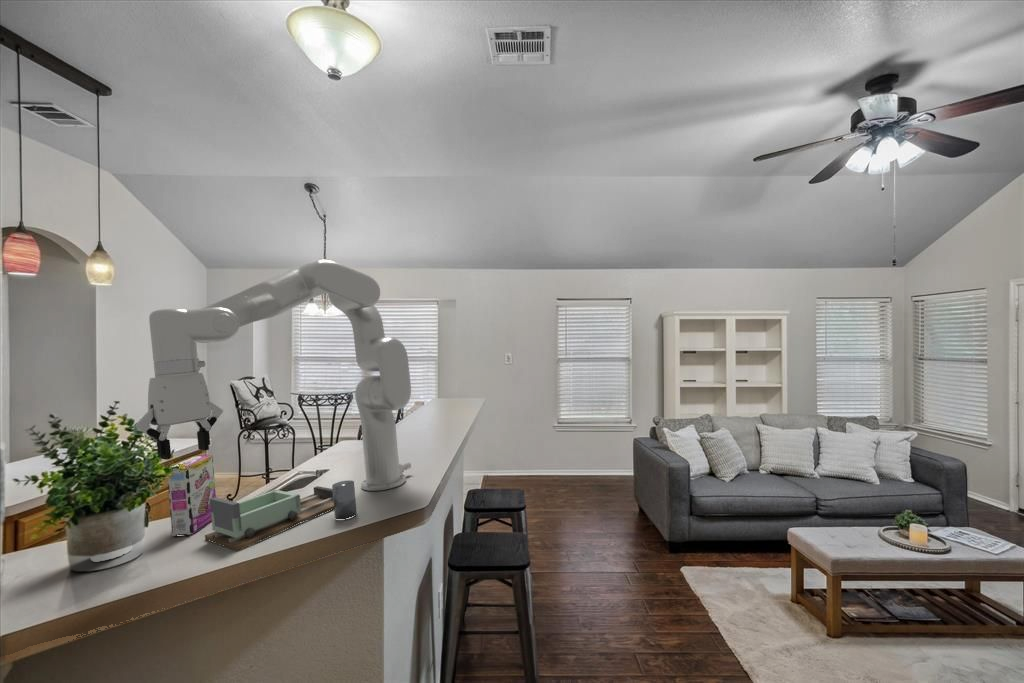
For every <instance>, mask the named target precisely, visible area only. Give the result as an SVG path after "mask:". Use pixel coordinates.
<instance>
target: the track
mask: <svg viewBox="0 0 1024 683" xmlns="http://www.w3.org/2000/svg"><path fill="white" fill-rule="evenodd" d="M300 502H301V512H300V513H297V517H296V518H295V519H294V520H292V519H289V518H288V517H287V518H285V519H282V520H280V521H277V522H275V523H273V524H270V525H268V526H265V527H263V528H260V529H258V530H255V534H254V536H253V537H247V536H245V535H243V536H241V537H238V538H235V537H232V536H229V535H226V534H223V533H219V532H216V531H213V532H210V533H207V534H205V535H204V539H207V540H206V541H208V540H210V541H213V542H216V543H218V544H217V545H219V544H221V545H220V546H222V545H224V546H223V547H225V546H226V547H225V548H227V547H229V548H228V549H230V548H232V549H231V550H233V549H234V550H233V551H236V552H239V551H241V550H243V548H244V549H246V548H248V547H250V546H249V545H251V546H252V544H253V545H255V544H257V543H256V542H258V541H260V540H262V541H264V540H263V539H265V538H267V537H269V536H272V535H274V534H276V535H278V534H277V533H279V532H281V531H283V530H285V529H287V528H290V527H292V526H294V525H296V524H298V523H300V522H303V521H306V520H309V519H311V518H313V517H315V516H318V515H320V514H322V513H325V512H327V511H329V510H331V509H334V501H333V490H332V488H330V487H326V486H325V487H324V486H319V485H317V486H315V487H313V494H310V495H307V496H305V497H302V498H300ZM325 514H326V513H325ZM318 517H319V516H318ZM311 520H312V519H311ZM309 521H310V520H309ZM290 529H291V528H290ZM283 532H284V531H283ZM281 533H282V532H281ZM279 534H280V533H279ZM274 536H275V535H274ZM272 537H273V536H272ZM269 538H270V537H269ZM267 539H268V538H267ZM265 540H266V539H265ZM210 541H209V542H210ZM213 542H212V543H213ZM260 542H261V541H260ZM216 543H215V544H216ZM254 543H255V544H254ZM258 543H259V542H258ZM247 546H248V547H247ZM245 547H246V548H245Z"/></svg>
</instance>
